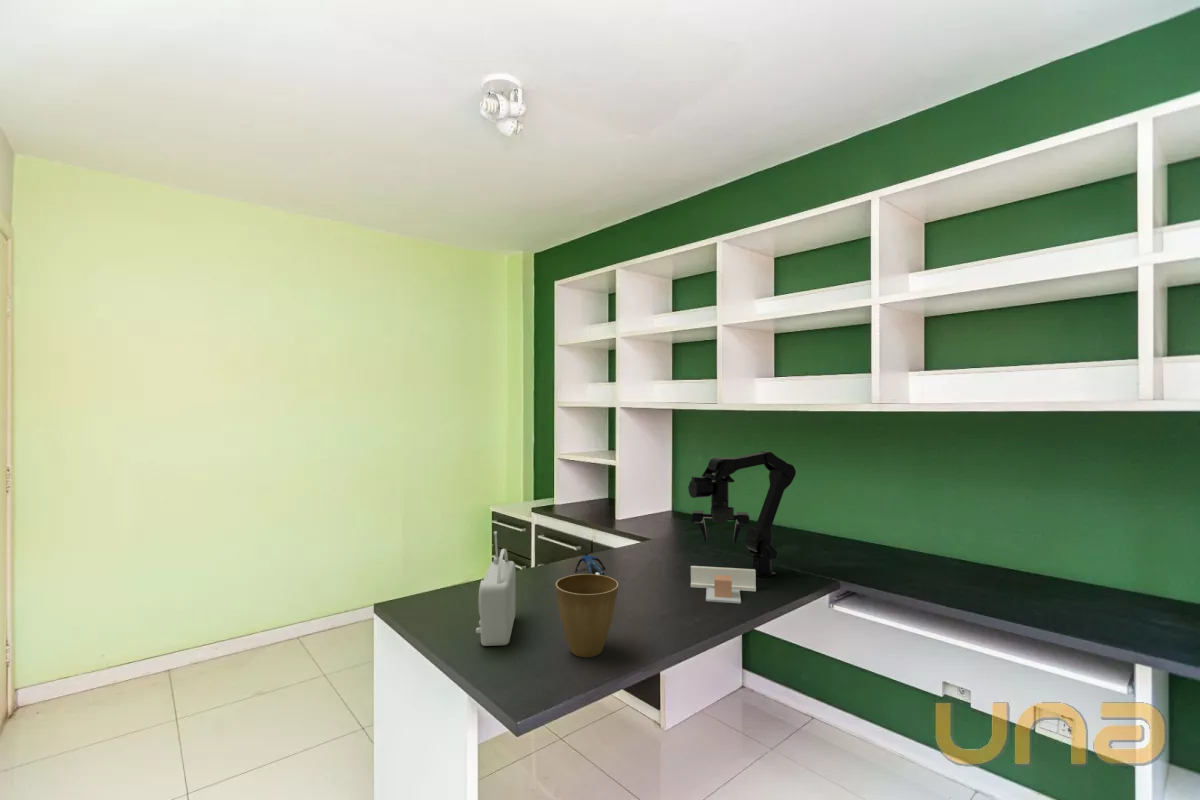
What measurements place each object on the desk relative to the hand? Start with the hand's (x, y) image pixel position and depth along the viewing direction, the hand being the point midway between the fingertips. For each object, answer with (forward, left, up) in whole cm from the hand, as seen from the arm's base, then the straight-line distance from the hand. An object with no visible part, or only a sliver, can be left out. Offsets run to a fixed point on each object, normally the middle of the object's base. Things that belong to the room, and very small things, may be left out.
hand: (720, 543), depth 180 cm
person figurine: (+32, -30, -13) cm, 45 cm away
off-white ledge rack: (+5, +6, -12) cm, 14 cm away
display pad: (+11, +12, -12) cm, 20 cm away
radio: (+78, -2, -12) cm, 79 cm away
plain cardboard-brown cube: (+11, +12, -11) cm, 20 cm away
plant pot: (+64, +20, -12) cm, 68 cm away
